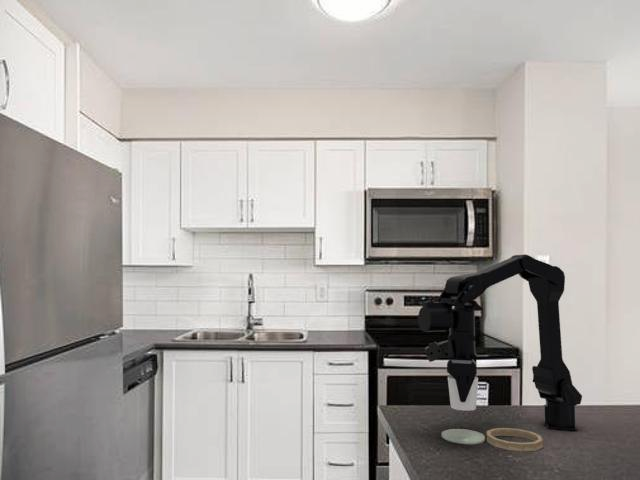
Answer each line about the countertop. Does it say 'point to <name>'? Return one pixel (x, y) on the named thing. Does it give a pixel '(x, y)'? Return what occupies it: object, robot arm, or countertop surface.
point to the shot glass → (455, 399)
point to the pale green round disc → (463, 436)
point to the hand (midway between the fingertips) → (463, 398)
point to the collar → (514, 445)
